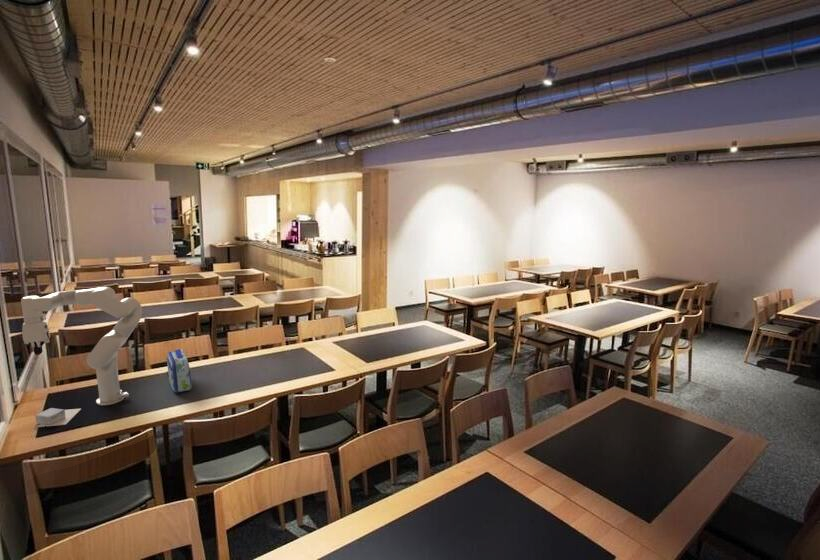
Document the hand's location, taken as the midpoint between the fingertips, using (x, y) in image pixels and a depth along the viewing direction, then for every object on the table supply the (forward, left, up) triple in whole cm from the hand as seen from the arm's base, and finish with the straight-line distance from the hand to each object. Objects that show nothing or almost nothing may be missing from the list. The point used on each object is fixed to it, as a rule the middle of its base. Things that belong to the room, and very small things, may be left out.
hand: (38, 353), depth 223 cm
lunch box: (-62, -12, -29) cm, 70 cm away
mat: (-14, +16, -29) cm, 36 cm away
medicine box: (-7, +17, -26) cm, 32 cm away
